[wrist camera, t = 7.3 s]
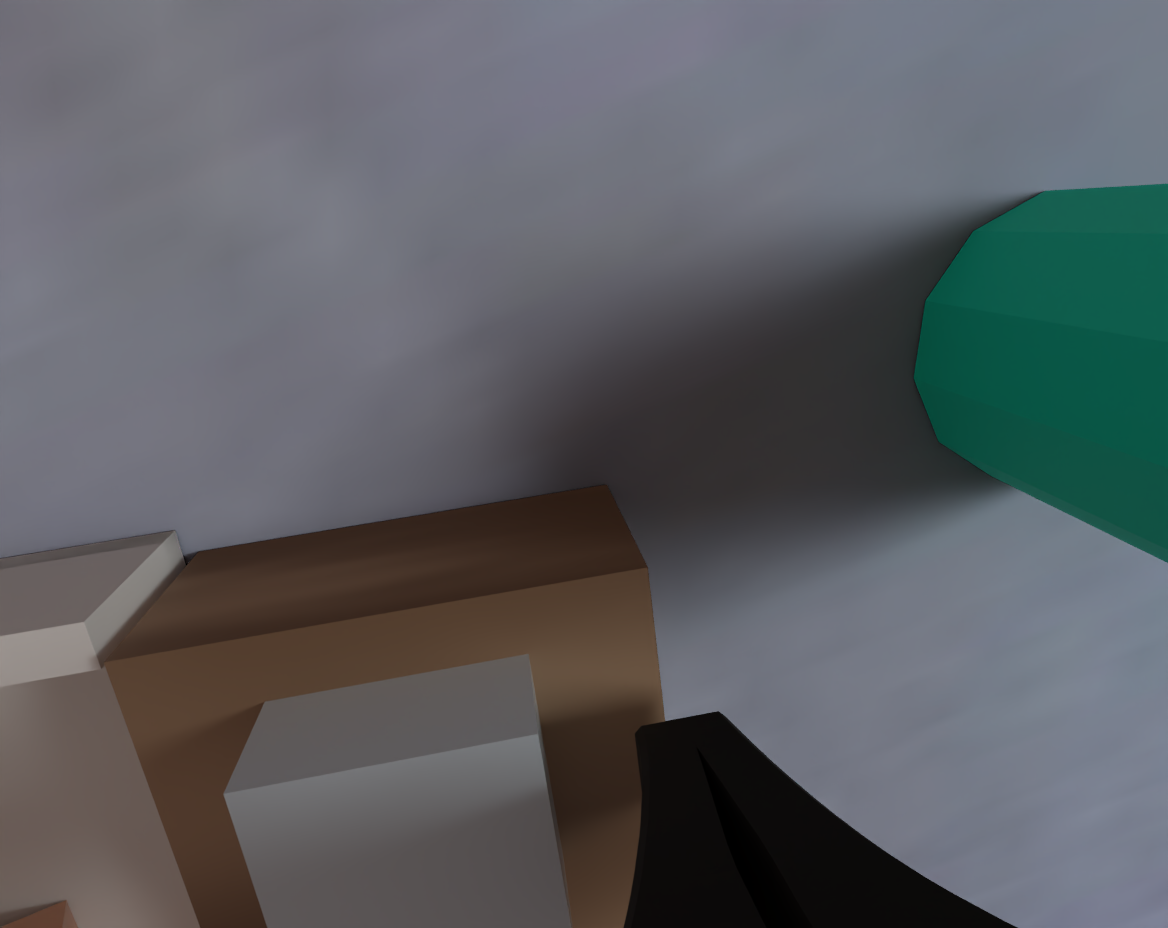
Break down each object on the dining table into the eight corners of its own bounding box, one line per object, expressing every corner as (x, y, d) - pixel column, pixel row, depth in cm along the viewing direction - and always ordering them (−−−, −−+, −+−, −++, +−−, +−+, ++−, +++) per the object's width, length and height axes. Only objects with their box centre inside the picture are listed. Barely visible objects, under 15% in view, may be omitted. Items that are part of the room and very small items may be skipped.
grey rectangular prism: (563, 858, 13) (577, 964, 11) (325, 906, 13) (298, 1024, 11) (528, 653, 12) (537, 733, 10) (264, 702, 12) (222, 794, 10)
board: (663, 936, 19) (708, 1110, 16) (338, 1007, 19) (302, 1206, 15) (606, 484, 16) (647, 567, 12) (198, 551, 15) (104, 662, 11)
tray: (329, 1025, 19) (297, 1203, 15) (-46, 1106, 18) (-168, 1312, 15) (175, 530, 15) (84, 621, 11) (-315, 609, 14) (-568, 732, 11)
